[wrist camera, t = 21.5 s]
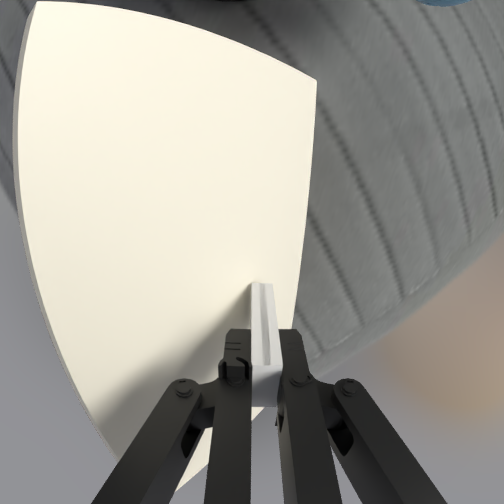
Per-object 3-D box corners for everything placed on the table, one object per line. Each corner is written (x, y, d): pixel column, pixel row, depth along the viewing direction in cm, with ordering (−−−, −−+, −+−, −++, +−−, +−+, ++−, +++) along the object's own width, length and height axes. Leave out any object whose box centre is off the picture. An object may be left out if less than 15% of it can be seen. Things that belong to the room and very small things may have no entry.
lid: (300, 80, 17) (316, 80, 17) (270, 384, 28) (280, 388, 27) (27, 17, 4) (36, 1, 3) (144, 497, 15) (155, 507, 14)
